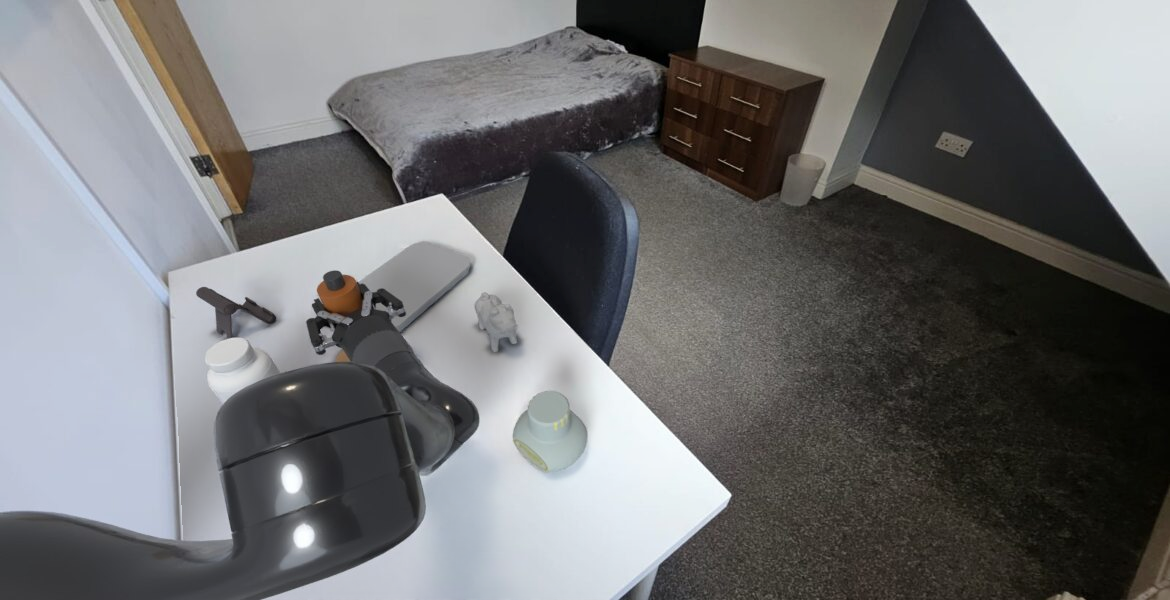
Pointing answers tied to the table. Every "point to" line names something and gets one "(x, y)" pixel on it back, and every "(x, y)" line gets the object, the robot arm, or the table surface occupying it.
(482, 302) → the grey animal figurine
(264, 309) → the tablet stand
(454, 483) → the table surface
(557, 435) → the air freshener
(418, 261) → the tablet
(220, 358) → the pill bottle
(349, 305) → the bottle
